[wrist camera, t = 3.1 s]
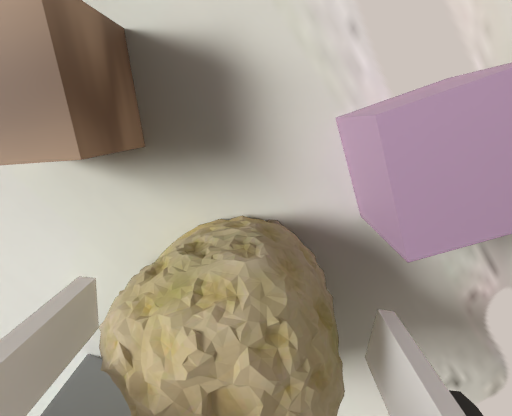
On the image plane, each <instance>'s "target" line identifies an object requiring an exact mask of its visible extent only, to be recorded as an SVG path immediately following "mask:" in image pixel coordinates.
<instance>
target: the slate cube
mask: <svg viewBox="0 0 512 416" xmlns="http://www.w3.org/2000/svg"><path fill="white" fill-rule="evenodd" d="M101 366H102V358H99V357H96V356H93V355H90V354H88V355H87V356H86V357H85V358H84V360H83V361H82V362H81V364H80V365H79V366H78V368H77V369H76V370H75V371H74V373H73V374H72V375H71V377H70V378H69V379H68V381H67V382H66V383H65V384H64V386H63V387H62V388H61V390H60V391H59V392H58V394H57V395H56V396H55V397H54V399H53V400H52V401H51V403H50V404H49V405H48V407H47V408H46V409H45V410H44V412H43V413H42V414H41V416H131V411H130V409H129V406H128V404H127V402H126V400H125V398H124V396H123V395H122V393H121V391H120V389H119V388H118V387H117V386H116V384H115V383H114V382H113V381H112V379H111V377H110V375H108V374H107V373H106V372H104V371H101Z"/></svg>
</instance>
